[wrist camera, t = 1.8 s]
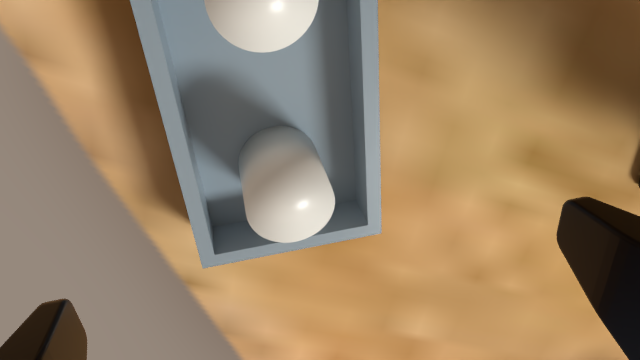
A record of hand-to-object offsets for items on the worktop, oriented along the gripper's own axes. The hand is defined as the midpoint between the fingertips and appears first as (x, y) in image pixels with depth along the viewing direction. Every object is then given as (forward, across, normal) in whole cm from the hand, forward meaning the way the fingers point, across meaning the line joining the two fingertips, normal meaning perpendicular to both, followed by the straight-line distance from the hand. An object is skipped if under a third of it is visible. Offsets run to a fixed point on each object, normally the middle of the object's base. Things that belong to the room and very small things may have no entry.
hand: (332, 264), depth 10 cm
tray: (+10, 0, 0) cm, 10 cm away
